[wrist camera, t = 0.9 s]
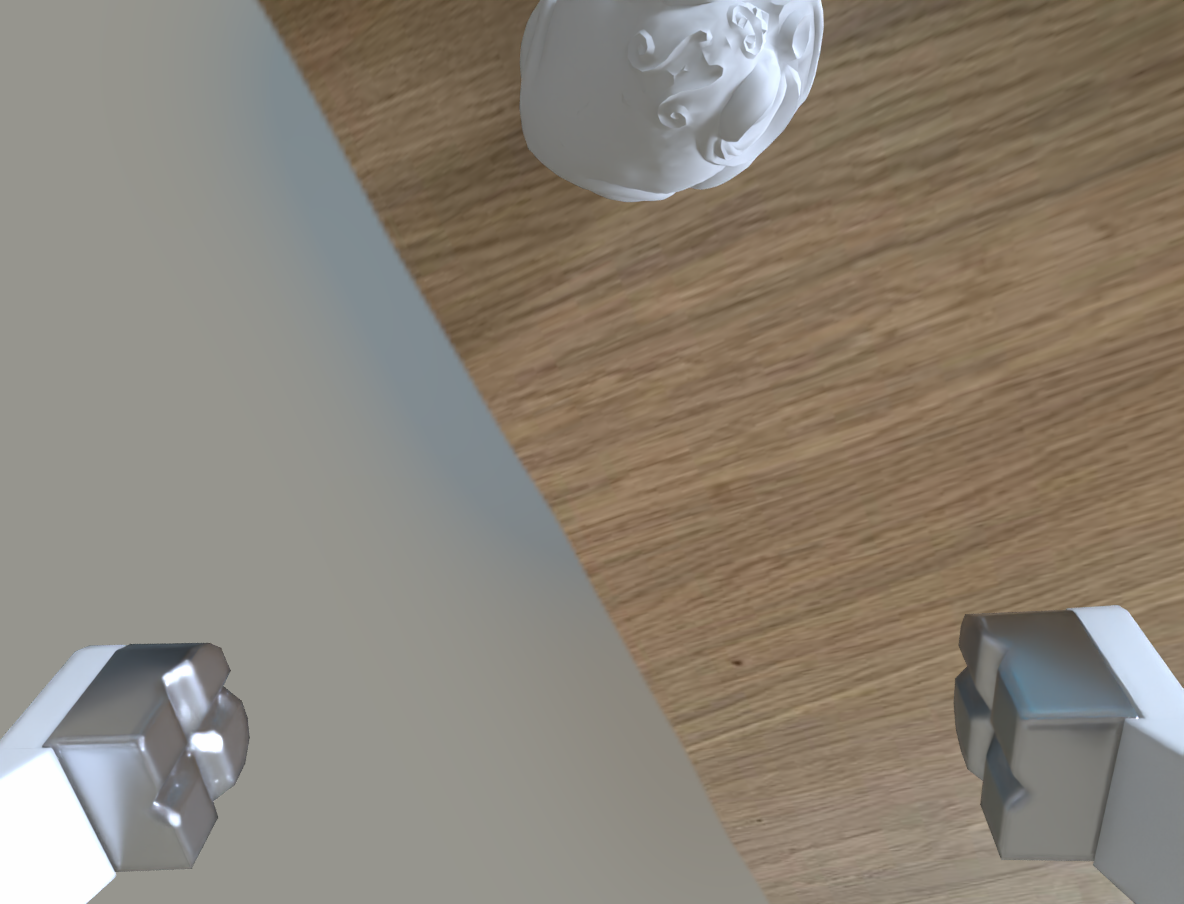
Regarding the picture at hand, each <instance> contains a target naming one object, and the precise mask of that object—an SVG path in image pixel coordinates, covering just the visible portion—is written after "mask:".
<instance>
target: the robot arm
mask: <svg viewBox="0 0 1184 904" xmlns="http://www.w3.org/2000/svg"><path fill="white" fill-rule="evenodd" d="M959 647H960V650H961V652H962V655H963V657H964V660H965V662H966V664H967V667H966V668H965V669H964V670H963V671H962V672H961V673H960V674H959V675H958V676H957V677H956V678H955V690H954V714H955V725H956V732H957V736H958V741H959V745H960V749H961V752H962V755H963V758H964V761H965V764H966V766H967V769H968V770H969V771H971V772H972V773H973V774H975V775H976V776H977V777H978V778H980V779H981V780H982V781H983V785H982V794H981V803H980V805H981V807H982V810H983V813H984V815H985V818H986V821H987V823H988V826H989V828H990V831H991V834H992V836H993V839H994V842H995V844H996V847H997V850H998V852H999V855H1000V858H1001V860H1054V861H1094V864H1093V866H1094V867H1096V868H1097V869H1098V870H1099V871H1100V872H1101V873H1102V874H1103V875H1104V876H1105V877H1106V878H1108V879H1109V880H1110V881H1111V882H1112V883H1113V884H1114V885H1115V886H1116V887H1117V888H1118V889H1120V890H1121V891H1122V892H1123V893H1124V894H1125V895H1126V896H1127V897H1128V898H1129V899H1131V900H1132V901H1133V902H1134V903H1135V904H1184V689H1183V688H1182V686H1181V685H1180V684H1179V682H1178V681H1177V679H1176V678H1175V677H1174V675H1173V674H1172V672H1171V671H1170V670H1169V668H1168V667H1167V665H1166V664H1165V663H1164V661H1163V660H1162V658H1161V657H1160V656H1159V654H1158V653H1157V651H1156V650H1155V648H1154V647H1153V646H1152V644H1151V643H1150V641H1149V640H1148V639H1147V637H1146V636H1145V634H1144V633H1143V632H1142V630H1141V629H1140V627H1139V626H1138V625H1137V623H1136V622H1135V620H1134V619H1133V618H1132V616H1131V615H1130V613H1129V612H1128V611H1127V610H1126V609H1124V608H1122V607H1120V606H1119V605H1112V606H1096V607H1080V608H1067V609H1066V610H1050V611H1027V612H1005V613H982V614H965V616H964V619H963V621H962V624H961V629H960V638H959ZM230 671H231V670H230V668H229V666H228V663H227V661H226V659H225V656H224V654H223V651H222V649H221V648H220V647H218V646H215V645H213V644H211V643H175V644H130V645H94V646H87V647H85V648H82V649H80V650H77V651H75V652H74V653H73V654H72V656H71V657H70V658H69V659H68V660H67V662H66V663H65V664H64V665H63V666H62V667H61V669H60V670H59V671H58V672H57V673H56V675H55V676H54V677H53V678H52V679H51V681H50V682H49V683H48V684H47V685H46V687H45V688H44V689H43V690H42V691H41V692H40V693H39V695H38V696H37V697H36V698H35V699H34V701H33V702H32V703H31V704H30V705H29V707H28V708H27V709H26V710H25V711H24V712H23V714H22V715H21V716H20V717H19V718H18V720H17V721H16V722H15V723H14V724H13V725H12V727H11V728H10V729H9V730H8V731H7V733H6V734H5V735H4V736H3V737H2V738H1V740H0V904H86V903H87V902H88V901H89V900H90V899H92V898H93V897H94V896H95V895H96V894H97V893H98V892H99V891H100V890H101V889H103V888H104V887H105V886H106V885H107V884H108V883H109V882H110V881H111V880H113V879H114V878H115V877H116V873H115V872H125V871H150V870H174V869H192V867H193V865H194V863H195V861H196V859H197V857H198V855H199V854H200V852H201V850H202V848H203V846H204V844H205V842H206V840H207V838H208V836H209V834H210V832H211V830H212V828H213V826H214V825H215V822H216V821H217V819H218V815H217V812H216V809H215V806H214V802H213V801H214V800H216V799H217V798H218V797H220V796H221V795H222V794H224V793H225V792H226V791H227V790H229V789H230V788H231V787H233V786H234V785H235V783H236V782H237V779H238V777H239V775H240V773H241V771H242V769H243V767H244V765H245V761H246V756H247V750H248V744H249V738H250V737H249V727H248V718H247V715H246V712H245V709H244V706H243V703H242V701H241V700H240V699H238V698H237V697H236V696H235V695H233V694H232V693H231V692H230V691H229V690H227V689H226V688H225V687H224V686H223V685H224V683H225V681H226V679H227V677H228V675H229V673H230Z"/></svg>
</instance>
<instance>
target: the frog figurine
mask: <svg viewBox="0 0 1184 904" xmlns="http://www.w3.org/2000/svg"><path fill="white" fill-rule="evenodd" d="M822 35H823V9H822V4H821V0H540V2H539V3H538V5H537V6H536V8H535V9H534V11H533V12H532V14H531V16H530V18H529V20H528V22H527V25H526V29H525V32H524V36H523V39H522V43H521V54H520V70H521V78H522V82H521V92H520V115H521V122H522V129H523V134H524V137H525V139H526V142H527V146H528V149H529V150H530V151H531V152H532V153H534V155H535V156H536V158H537V159H538V160H539V161H540V162H541V163H542V164H544V165H545V166H546V167H547V168H549V169H550V170H551V171H553V172H554V173H555V174H557V175H558V176H559V177H561V178H563V179H565V180H567V181H569V182H571V183H573V184H575V185H577V186H579V187H581V188H583V189H587V190H590V191H592V192H594V193H596V194H598V195H600V196H602V197H605V198H607V199H612V200H618V201H623V202H639V201H645V200H648V201H655V200H664V199H666V198H668V197H670V196H671V195H673V194H674V193H675V192H678V191H682V190H685V189H687V188H689V187H691V188H693V189H701V190H703V189H707V188H712V187H716V186H718V185H721V184H723V183H725V182H726V181H728V180H730V179H732V178H733V177H735V176H736V175H738V174H739V173H740V172H742V171H743V170H745V169H746V168H748V167H749V166H750V164H751V163H752V162H753V161H754V159H755V158H756V157H757V156H758V155H759V154H760V153H761V152H762V151H764V150H765V149H766V148H767V147H768V146H769V145H770V144H771V143H772V142H773V141H774V140H775V139H776V138H777V137H778V136H779V134H780V133H781V132H782V131H783V130H784V129H785V127H786V126H787V124H788V123H789V121H790V120H791V118H792V117H793V114H794V113H795V112H796V111H797V109H798V107H799V106H800V105H801V104H802V103H803V102H804V101H805V99H806V98H807V96H808V93H809V91H810V89H811V86H812V83H813V80H814V77H815V73H816V68H817V63H818V59H819V55H820V49H821V42H822Z"/></svg>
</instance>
